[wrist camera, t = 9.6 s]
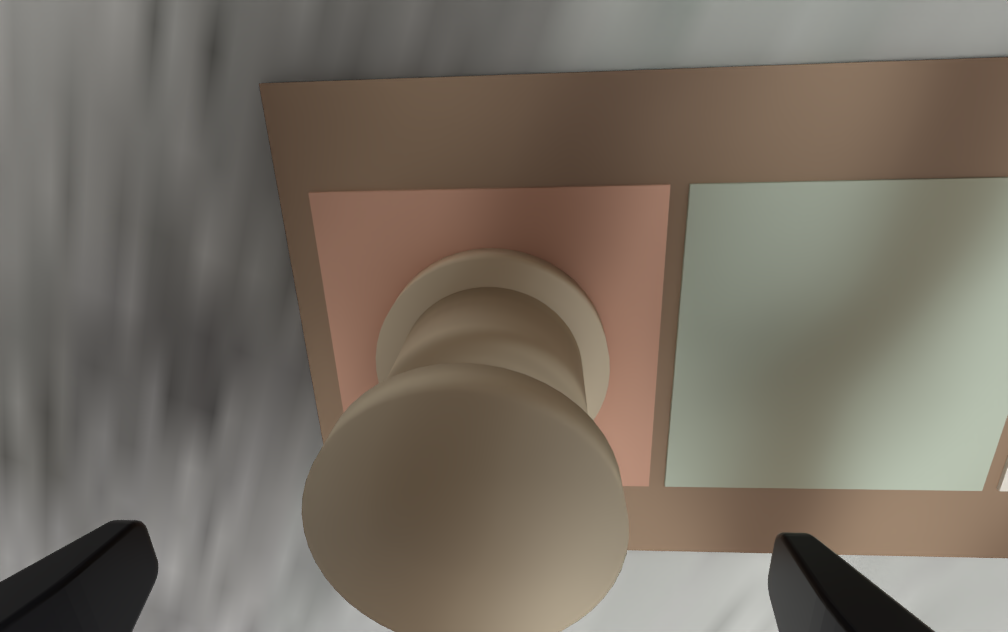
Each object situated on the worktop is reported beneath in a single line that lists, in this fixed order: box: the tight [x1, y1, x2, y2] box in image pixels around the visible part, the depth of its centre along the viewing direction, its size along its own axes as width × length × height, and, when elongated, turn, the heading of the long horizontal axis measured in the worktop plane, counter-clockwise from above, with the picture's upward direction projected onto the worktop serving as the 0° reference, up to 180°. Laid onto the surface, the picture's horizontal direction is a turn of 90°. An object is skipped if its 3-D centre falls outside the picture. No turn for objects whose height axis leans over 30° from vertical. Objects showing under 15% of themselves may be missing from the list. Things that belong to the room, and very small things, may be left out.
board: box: [259, 57, 1008, 558], centre depth 14 cm, size 25×12×1 cm, turn 92°
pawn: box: [302, 248, 629, 632], centre depth 12 cm, size 5×5×6 cm
